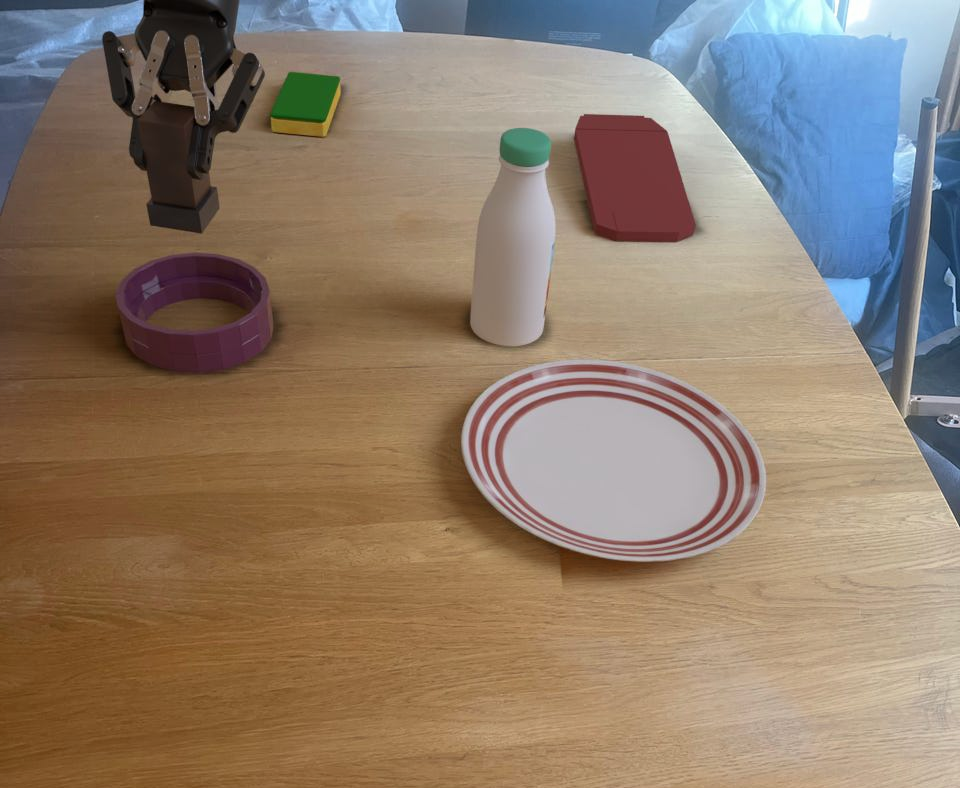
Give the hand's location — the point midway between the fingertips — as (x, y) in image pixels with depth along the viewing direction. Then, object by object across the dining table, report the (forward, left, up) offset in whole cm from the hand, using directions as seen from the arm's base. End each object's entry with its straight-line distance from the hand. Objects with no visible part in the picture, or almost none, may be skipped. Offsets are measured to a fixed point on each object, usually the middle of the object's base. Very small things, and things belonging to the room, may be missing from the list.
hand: (168, 171), depth 85 cm
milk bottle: (+31, +7, -18) cm, 36 cm away
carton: (+47, +40, -18) cm, 64 cm away
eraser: (0, +2, -5) cm, 5 cm away
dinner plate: (+40, -15, -18) cm, 46 cm away
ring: (0, +3, -18) cm, 18 cm away
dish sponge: (+5, +56, -18) cm, 59 cm away
